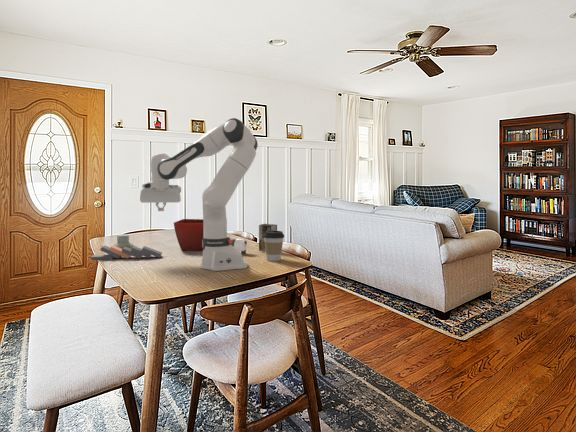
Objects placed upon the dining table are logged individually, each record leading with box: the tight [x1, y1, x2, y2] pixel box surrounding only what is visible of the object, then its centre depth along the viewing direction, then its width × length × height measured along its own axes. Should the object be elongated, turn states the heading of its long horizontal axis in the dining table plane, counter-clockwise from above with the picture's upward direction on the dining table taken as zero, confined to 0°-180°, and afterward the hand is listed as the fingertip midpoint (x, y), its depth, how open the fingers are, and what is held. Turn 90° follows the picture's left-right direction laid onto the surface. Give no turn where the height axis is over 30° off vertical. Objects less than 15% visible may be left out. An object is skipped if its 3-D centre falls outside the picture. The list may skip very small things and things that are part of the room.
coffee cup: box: [263, 230, 285, 262], centre depth 189 cm, size 11×11×15 cm
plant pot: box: [173, 218, 204, 251], centre depth 217 cm, size 19×19×17 cm
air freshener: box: [114, 234, 135, 249], centre depth 202 cm, size 11×8×10 cm
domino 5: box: [131, 245, 152, 259], centre depth 190 cm, size 2×5×10 cm
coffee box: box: [258, 223, 278, 253], centre depth 210 cm, size 9×6×16 cm
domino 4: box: [121, 247, 143, 260], centre depth 189 cm, size 2×5×10 cm
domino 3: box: [109, 245, 132, 260], centre depth 189 cm, size 2×5×10 cm
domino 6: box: [141, 245, 163, 259], centre depth 191 cm, size 2×5×10 cm
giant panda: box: [227, 236, 248, 256], centre depth 204 cm, size 15×6×10 cm, turn 82°
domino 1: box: [90, 253, 116, 261], centre depth 187 cm, size 2×5×10 cm
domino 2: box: [100, 245, 123, 260], centre depth 188 cm, size 2×5×10 cm
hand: (161, 211), depth 191 cm, fingers closed
